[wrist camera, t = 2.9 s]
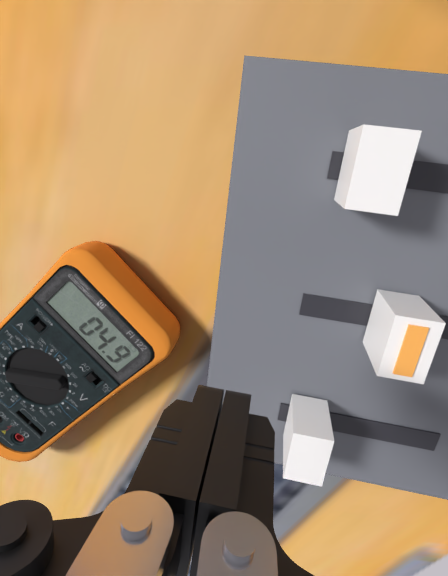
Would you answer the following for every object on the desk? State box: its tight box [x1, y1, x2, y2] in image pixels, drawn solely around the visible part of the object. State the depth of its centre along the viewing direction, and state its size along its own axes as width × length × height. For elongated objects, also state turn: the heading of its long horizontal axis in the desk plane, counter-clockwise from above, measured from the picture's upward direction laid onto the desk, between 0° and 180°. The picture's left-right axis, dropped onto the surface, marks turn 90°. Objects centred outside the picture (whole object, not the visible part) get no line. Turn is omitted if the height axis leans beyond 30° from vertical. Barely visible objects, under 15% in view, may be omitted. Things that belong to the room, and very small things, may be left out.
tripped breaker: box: [363, 289, 446, 384], centre depth 17 cm, size 2×3×3 cm, turn 173°
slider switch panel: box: [207, 56, 448, 500], centre depth 20 cm, size 18×22×3 cm
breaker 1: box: [283, 394, 334, 486], centre depth 20 cm, size 2×3×3 cm, turn 174°
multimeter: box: [0, 241, 180, 462], centre depth 25 cm, size 9×18×3 cm, turn 132°
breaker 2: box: [334, 124, 422, 216], centre depth 15 cm, size 2×3×3 cm, turn 173°
